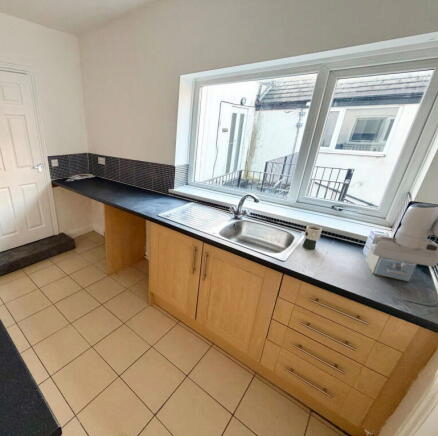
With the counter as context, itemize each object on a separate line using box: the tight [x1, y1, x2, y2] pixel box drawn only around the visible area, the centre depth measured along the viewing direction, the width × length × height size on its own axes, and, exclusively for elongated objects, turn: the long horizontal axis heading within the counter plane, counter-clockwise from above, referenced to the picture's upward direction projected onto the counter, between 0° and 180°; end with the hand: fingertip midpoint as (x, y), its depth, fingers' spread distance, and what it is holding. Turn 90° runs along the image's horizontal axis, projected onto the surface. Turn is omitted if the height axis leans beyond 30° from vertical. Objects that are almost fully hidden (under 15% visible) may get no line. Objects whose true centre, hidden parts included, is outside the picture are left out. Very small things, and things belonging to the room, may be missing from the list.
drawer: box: [375, 258, 416, 282], centre depth 113 cm, size 18×11×8 cm, turn 150°
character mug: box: [302, 224, 323, 251], centre depth 136 cm, size 11×7×13 cm, turn 148°
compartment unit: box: [365, 244, 418, 283], centre depth 116 cm, size 15×13×10 cm
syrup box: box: [362, 229, 390, 258], centre depth 128 cm, size 6×6×14 cm
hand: (396, 268), depth 107 cm, fingers closed
